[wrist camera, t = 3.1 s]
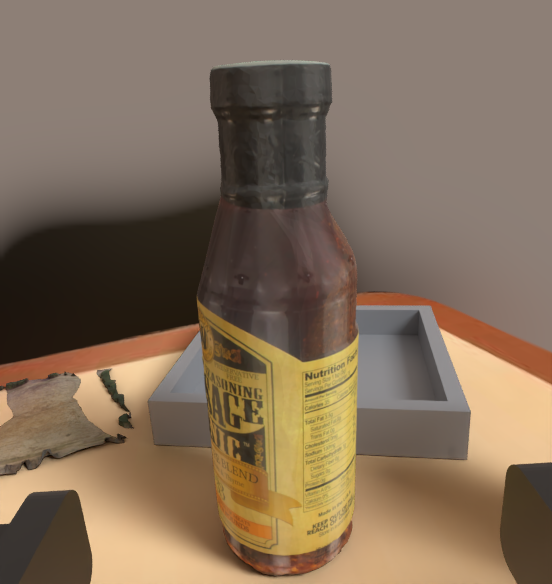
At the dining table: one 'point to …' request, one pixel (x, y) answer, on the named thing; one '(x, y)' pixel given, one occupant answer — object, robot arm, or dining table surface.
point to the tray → (370, 390)
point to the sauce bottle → (279, 323)
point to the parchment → (50, 421)
